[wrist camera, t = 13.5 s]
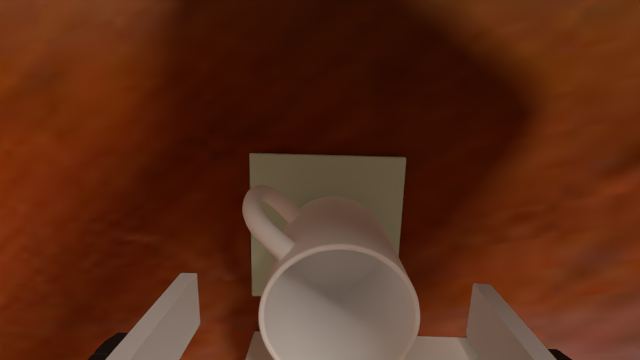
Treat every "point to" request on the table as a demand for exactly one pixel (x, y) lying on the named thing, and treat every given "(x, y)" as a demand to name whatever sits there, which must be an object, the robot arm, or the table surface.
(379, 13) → the table surface
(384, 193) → the mat
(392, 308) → the cup
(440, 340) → the cubby
